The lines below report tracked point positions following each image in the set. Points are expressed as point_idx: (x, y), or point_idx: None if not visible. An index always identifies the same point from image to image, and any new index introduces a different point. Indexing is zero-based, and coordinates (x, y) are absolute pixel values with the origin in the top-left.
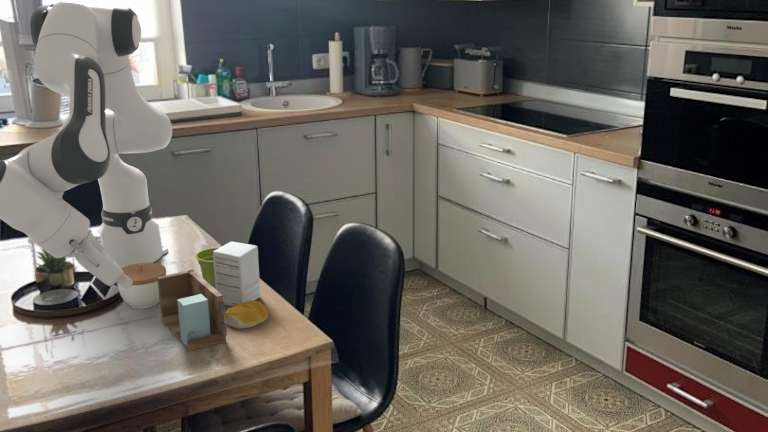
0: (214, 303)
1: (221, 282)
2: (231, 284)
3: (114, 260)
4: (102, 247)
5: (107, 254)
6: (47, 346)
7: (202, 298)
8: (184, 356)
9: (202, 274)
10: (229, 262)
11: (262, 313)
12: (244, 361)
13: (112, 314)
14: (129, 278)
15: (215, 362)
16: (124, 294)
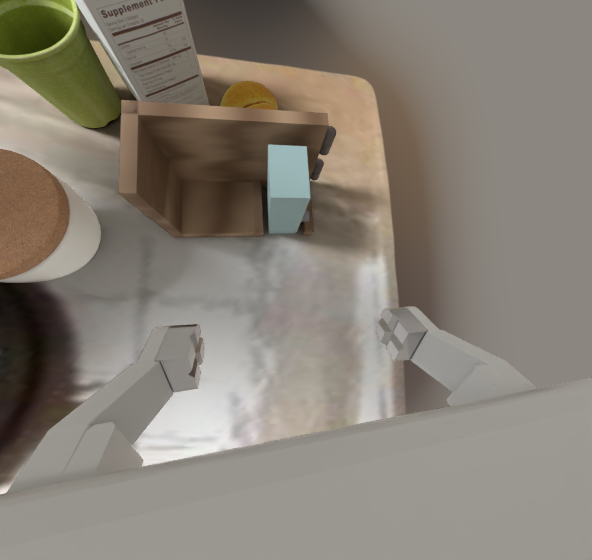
0: (306, 142)
1: (154, 87)
2: (178, 77)
3: (175, 336)
4: (312, 530)
5: (562, 500)
6: (160, 446)
7: (294, 152)
8: (323, 246)
9: (56, 98)
10: (153, 10)
11: (274, 98)
12: (375, 184)
13: (85, 309)
14: (408, 314)
15: (360, 216)
16: (52, 276)
